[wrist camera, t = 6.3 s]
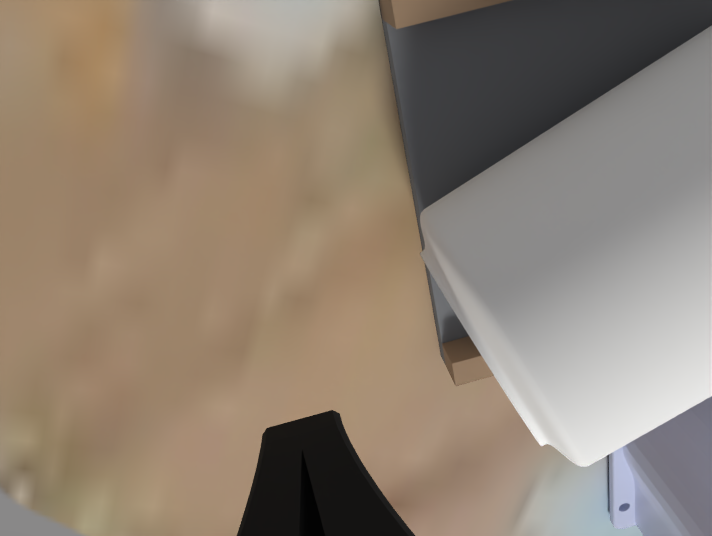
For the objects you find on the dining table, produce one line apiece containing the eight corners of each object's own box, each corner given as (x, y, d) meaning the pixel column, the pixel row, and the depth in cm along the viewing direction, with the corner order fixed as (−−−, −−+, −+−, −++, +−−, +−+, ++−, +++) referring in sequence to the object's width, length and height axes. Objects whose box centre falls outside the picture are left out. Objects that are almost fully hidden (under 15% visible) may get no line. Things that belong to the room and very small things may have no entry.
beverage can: (458, 325, 13) (1043, -32, 12) (377, 183, 20) (734, -49, 19) (600, 539, 17) (1052, 290, 15) (490, 357, 24) (793, 174, 23)
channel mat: (736, 274, 25) (771, 298, 23) (441, 355, 24) (455, 386, 23) (776, -118, 18) (827, -121, 17) (374, -20, 18) (389, -13, 16)
